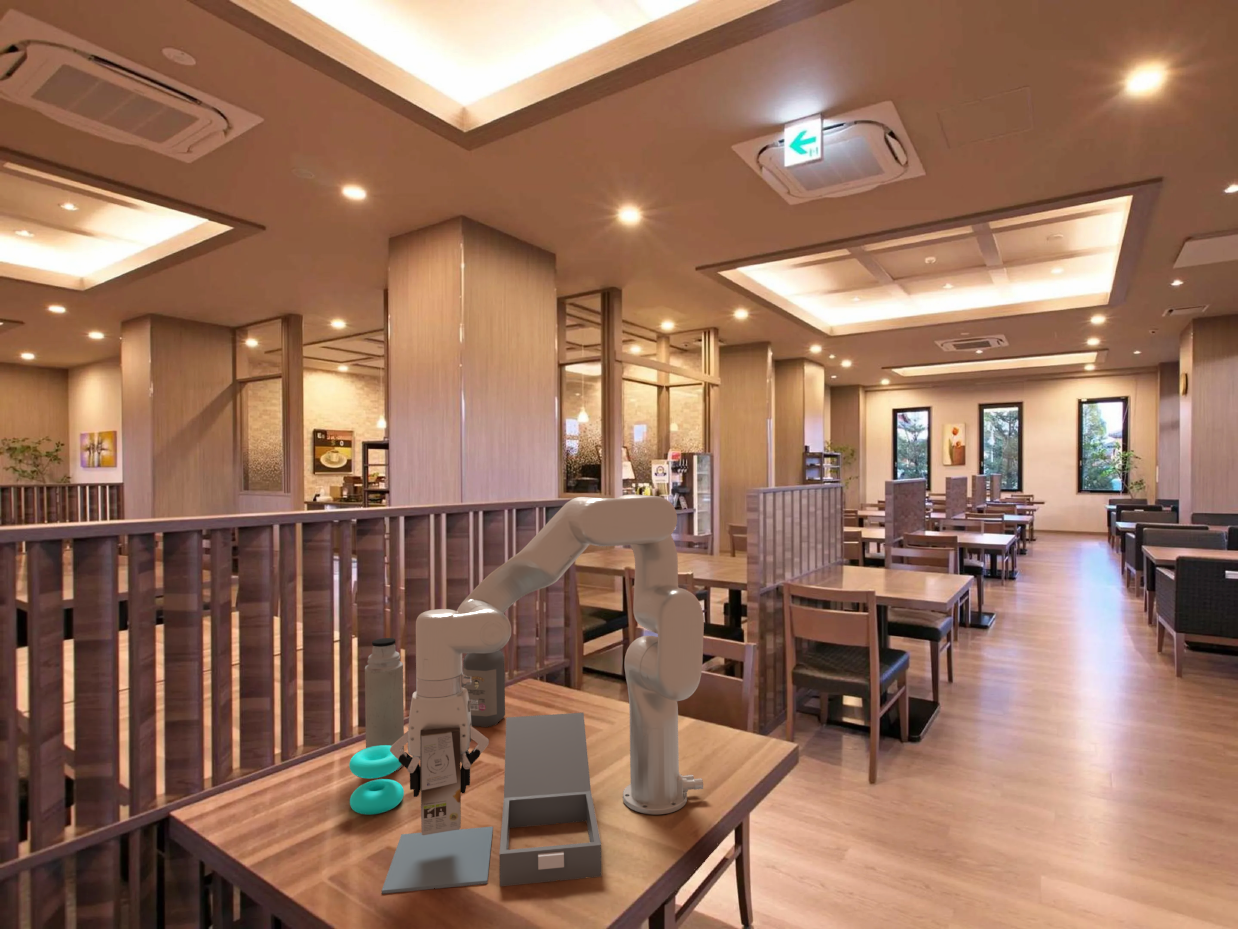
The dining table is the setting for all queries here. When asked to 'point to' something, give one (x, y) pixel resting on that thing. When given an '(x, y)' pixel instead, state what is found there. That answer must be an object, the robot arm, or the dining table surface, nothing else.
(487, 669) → the liquor
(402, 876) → the slate mat
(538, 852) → the case
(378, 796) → the donuts
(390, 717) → the thermos bottle
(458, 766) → the coffee box
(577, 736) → the case lid
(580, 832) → the dining table surface
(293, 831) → the dining table surface
